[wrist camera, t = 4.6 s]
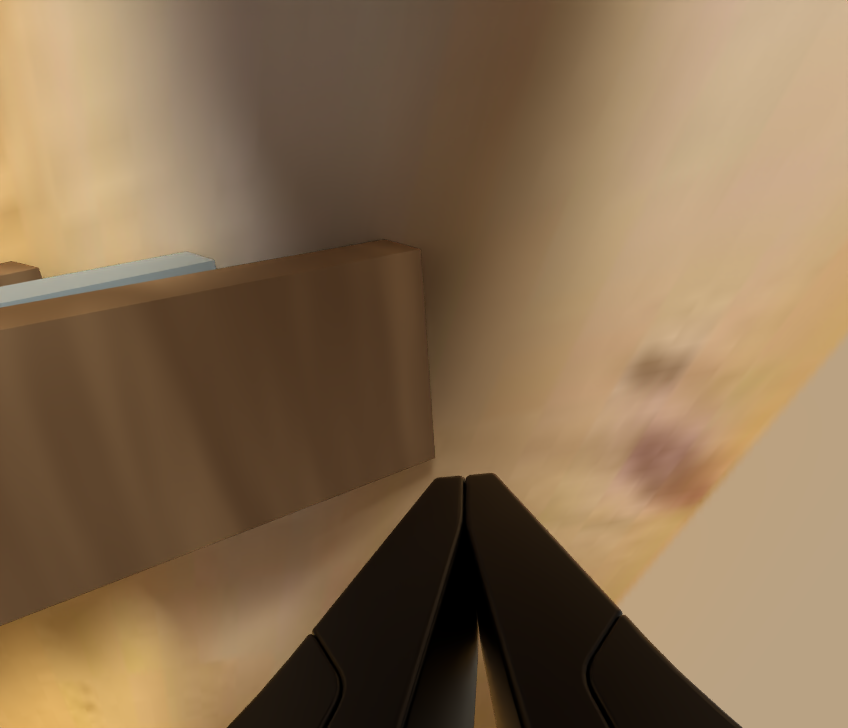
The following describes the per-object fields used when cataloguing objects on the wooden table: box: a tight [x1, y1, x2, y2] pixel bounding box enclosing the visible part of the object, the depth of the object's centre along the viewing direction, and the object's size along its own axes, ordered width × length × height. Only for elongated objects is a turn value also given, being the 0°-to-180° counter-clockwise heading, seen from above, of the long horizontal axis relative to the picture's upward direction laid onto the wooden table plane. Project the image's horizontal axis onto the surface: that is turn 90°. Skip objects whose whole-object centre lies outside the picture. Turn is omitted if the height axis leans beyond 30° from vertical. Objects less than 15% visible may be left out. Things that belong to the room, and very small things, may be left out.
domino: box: [0, 239, 435, 626], centre depth 12 cm, size 2×5×10 cm
